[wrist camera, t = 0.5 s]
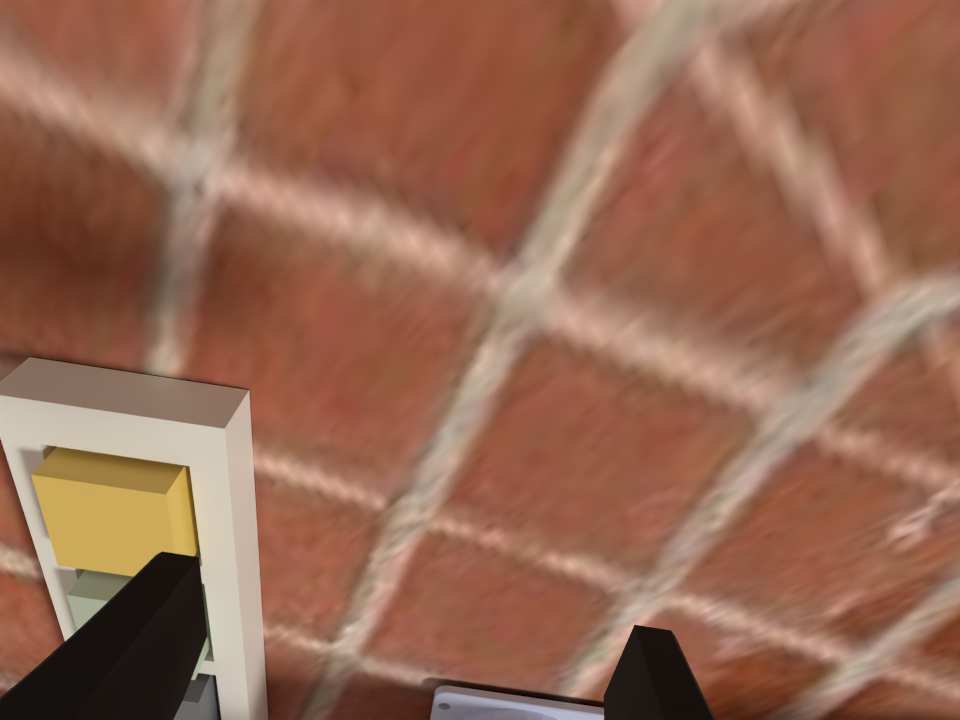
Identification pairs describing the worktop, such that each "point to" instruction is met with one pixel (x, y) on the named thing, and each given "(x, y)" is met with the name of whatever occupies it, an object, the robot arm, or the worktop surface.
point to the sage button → (100, 589)
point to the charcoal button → (200, 700)
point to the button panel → (164, 438)
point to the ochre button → (115, 510)
